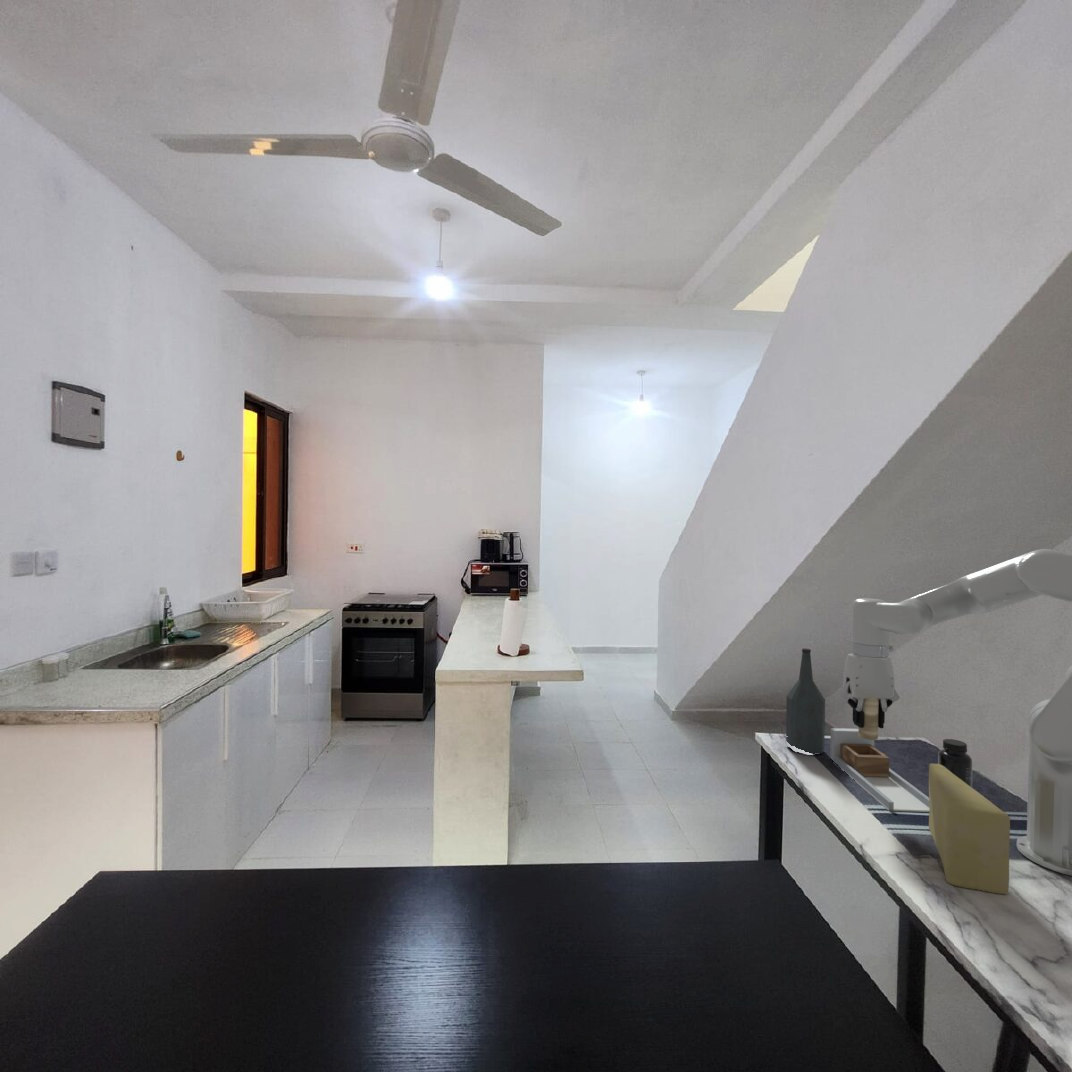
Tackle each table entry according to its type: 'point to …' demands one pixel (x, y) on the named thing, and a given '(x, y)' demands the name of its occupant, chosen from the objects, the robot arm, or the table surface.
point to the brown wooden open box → (865, 759)
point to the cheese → (968, 833)
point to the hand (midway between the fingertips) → (868, 725)
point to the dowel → (870, 719)
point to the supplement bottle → (956, 759)
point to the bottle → (806, 711)
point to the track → (878, 778)
